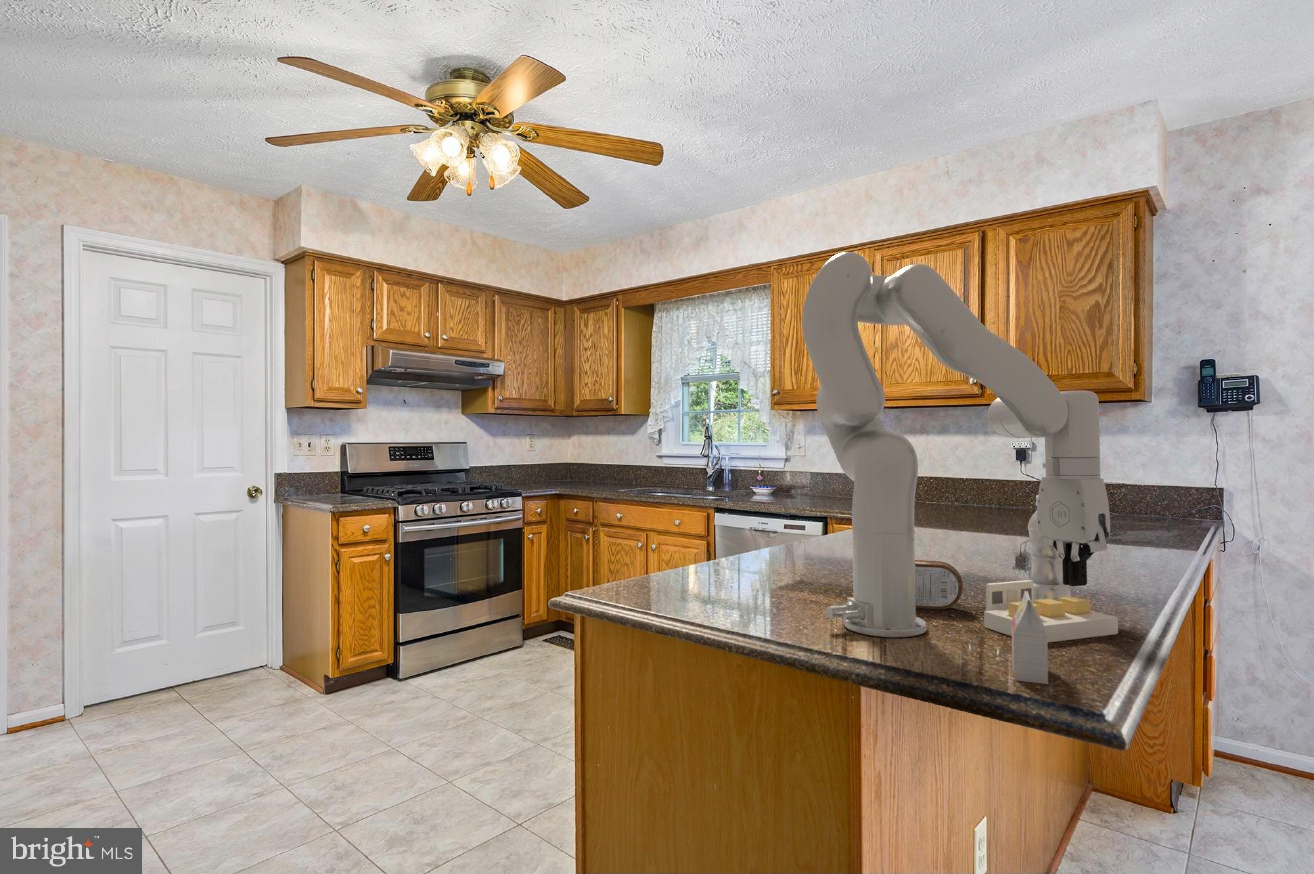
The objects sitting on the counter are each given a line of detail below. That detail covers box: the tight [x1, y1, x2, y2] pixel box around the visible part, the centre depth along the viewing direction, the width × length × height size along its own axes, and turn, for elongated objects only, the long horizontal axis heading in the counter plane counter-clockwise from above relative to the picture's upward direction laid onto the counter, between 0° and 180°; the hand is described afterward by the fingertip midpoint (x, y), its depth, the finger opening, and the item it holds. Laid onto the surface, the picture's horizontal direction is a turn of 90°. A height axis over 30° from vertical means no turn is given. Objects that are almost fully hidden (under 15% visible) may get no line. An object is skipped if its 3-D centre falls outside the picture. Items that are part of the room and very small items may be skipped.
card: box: [985, 579, 1033, 611], centre depth 118 cm, size 9×1×6 cm, turn 107°
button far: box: [1059, 596, 1091, 615], centre depth 112 cm, size 3×3×3 cm
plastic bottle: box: [1027, 494, 1072, 604], centre depth 123 cm, size 6×7×20 cm
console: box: [983, 609, 1119, 643], centre depth 111 cm, size 16×10×2 cm, turn 107°
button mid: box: [1034, 599, 1065, 618], centre depth 111 cm, size 3×3×3 cm
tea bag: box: [1011, 590, 1049, 685], centre depth 91 cm, size 4×7×10 cm, turn 156°
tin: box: [915, 559, 964, 611], centre depth 127 cm, size 15×3×8 cm, turn 71°
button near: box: [1008, 602, 1040, 617], centre depth 109 cm, size 3×3×3 cm
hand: (1075, 584), depth 112 cm, fingers closed
